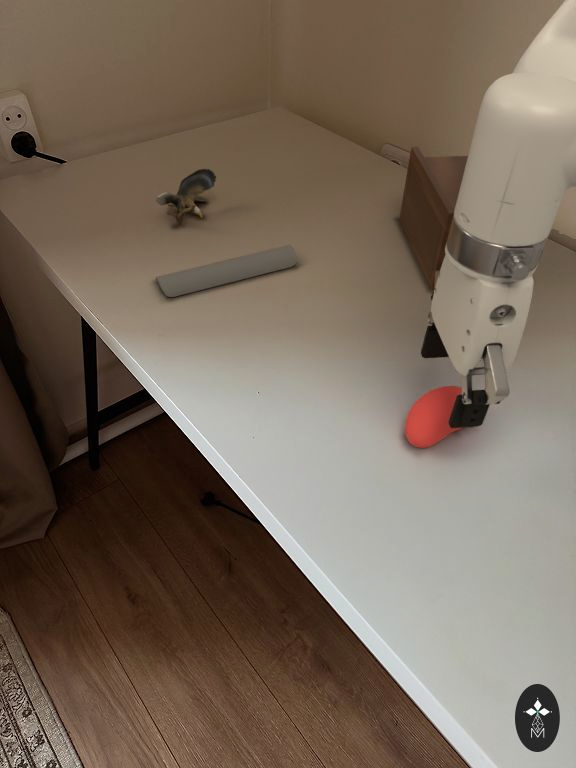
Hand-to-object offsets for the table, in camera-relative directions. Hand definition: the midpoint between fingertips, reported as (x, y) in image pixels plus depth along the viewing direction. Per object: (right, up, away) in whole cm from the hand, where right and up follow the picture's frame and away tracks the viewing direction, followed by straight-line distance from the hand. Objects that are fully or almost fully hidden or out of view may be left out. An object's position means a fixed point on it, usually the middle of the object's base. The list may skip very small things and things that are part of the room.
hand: (449, 388), depth 64 cm
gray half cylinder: (-24, +15, +23) cm, 37 cm away
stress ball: (0, -5, +5) cm, 7 cm away
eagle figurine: (-31, +26, +34) cm, 53 cm away
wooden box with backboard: (+8, +20, +29) cm, 36 cm away
